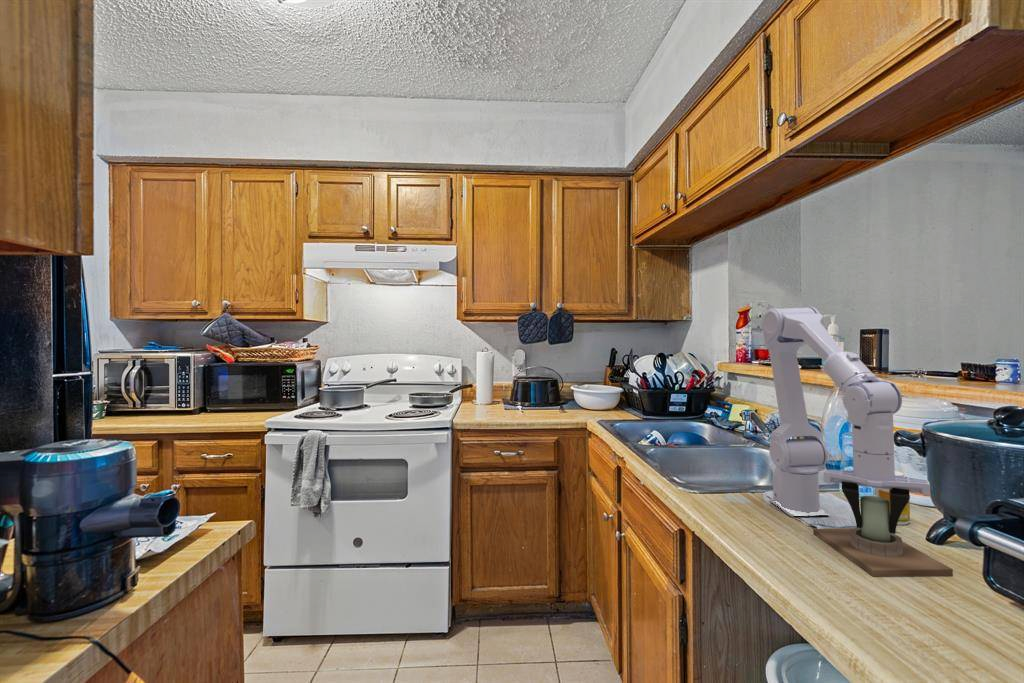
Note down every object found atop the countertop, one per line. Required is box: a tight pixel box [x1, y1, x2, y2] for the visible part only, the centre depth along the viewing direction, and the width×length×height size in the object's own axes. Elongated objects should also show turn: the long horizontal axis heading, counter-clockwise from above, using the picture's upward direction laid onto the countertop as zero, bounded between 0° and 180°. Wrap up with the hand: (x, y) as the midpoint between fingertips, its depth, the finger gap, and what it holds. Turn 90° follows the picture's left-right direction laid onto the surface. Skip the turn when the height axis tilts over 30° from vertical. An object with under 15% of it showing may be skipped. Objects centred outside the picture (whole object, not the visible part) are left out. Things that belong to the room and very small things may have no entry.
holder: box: [812, 526, 954, 578], centre depth 82 cm, size 16×12×3 cm
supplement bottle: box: [874, 470, 911, 526], centre depth 95 cm, size 5×5×10 cm
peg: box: [859, 495, 891, 543], centre depth 81 cm, size 4×4×7 cm
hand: (875, 528), depth 81 cm, fingers closed on peg, 4 cm apart
